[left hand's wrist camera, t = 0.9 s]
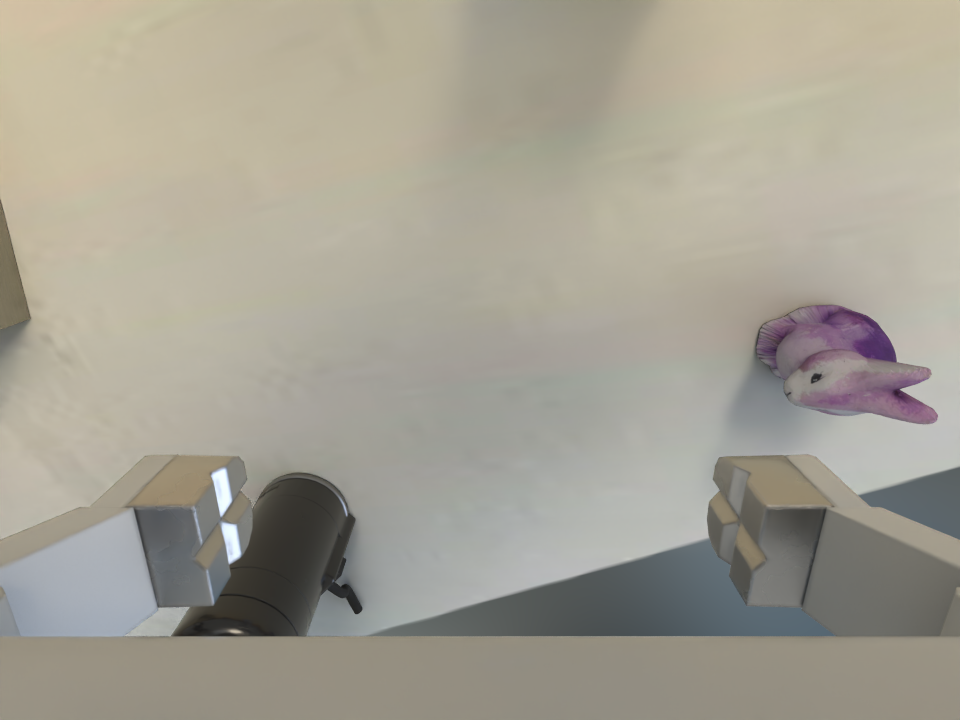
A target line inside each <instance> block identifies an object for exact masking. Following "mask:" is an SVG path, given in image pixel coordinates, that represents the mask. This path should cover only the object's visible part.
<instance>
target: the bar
mask: <svg viewBox="0 0 960 720" xmlns="http://www.w3.org/2000/svg"><path fill="white" fill-rule="evenodd" d="M29 319H30V315H29V311H28V307H27V303H26V299H25V295H24V291H23V287H22V283H21V280H20V276H19V272H18V268H17V264H16V260H15V256H14V252H13V248H12V244H11V240H10V236H9V233H8V229H7V225H6V221H5V217H4V213H3V209H2V205H1V201H0V330H1V329H4V328H7V327H9V326H12V325H15V324H18V323H20V322H23V321H26V320H29Z"/></svg>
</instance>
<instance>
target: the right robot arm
mask: <svg viewBox="0 0 960 720" xmlns="http://www.w3.org/2000/svg"><path fill="white" fill-rule="evenodd" d="M252 513H253V527H252V532H251V536H250V541H249V545H248V547H247V549H246V550H245V552H244V554H243V556H242V557H241V558H240V559H238V560H236V561H235V562H233V563H232V564H230V565H229V567H230V573H231V577H230V578H229V580H228V582H227V584H226V585H225V587H224V589H223V590H222V592H221V594H220V596H219V597H218V599H217V601H216V602H215V604H214V606H194V607H189V609H188V611H187V612H186V614H185V616H184V617H183V619H182V620H181V622H180V623H179V625H178V626H177V628H176V629H175V631H174V632H173V633H172V635H171V636H306V635H307V632H308V629H309V626H310V624H311V621H312V618H313V615H314V613H315V610H316V607H317V604H318V602H319V599H320V596H321V595H322V594H323V593H324V592H325V591H326V590H329V591H330V592H332V593H333V594H335V595H336V596H338V597H340V598H347V600H348V602H349V604H350V606H351V608H352V609H353V611H354V613H355V614H359V613H360V612H361V611H362V607H361V605H360V603H359V601H358V599H357V597H356V595H355V594H354V592H353V590H352V589H351V587H350V586H349V585H347V584H344V585H342V586H341V587H340V586H339V585H338V584H336V583H335V581H336V580H337V579H338V578H339V577H340V576H341V574H342V571H343V568H344V565H345V562H346V559H345V558H343V556H344V553H345V550H346V547H347V544H348V541H349V538H350V535H351V532H352V529H353V526H354V523H355V518H354V517H353V516H351V515H350V514H349V513H348V507H347V504H346V501H345V499H344V498H343V496H342V494H341V493H340V492H339V491H338V490H337V489H336V488H335V487H334V486H333V485H332V484H330V483H329V482H328V481H326V480H324V479H322V478H320V477H317V476H314V475H310V474H303V473H295V474H288V475H284V476H281V477H279V478H277V479H275V480H273V481H272V482H271V483H269V484H268V485H267V486H266V488H265V489H264V490H263V492H262V493H261V495H260V497H259V499H258V501H257V502H256V504H255V506H254V508H253V509H252Z"/></svg>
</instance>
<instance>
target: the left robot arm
mask: <svg viewBox="0 0 960 720" xmlns="http://www.w3.org/2000/svg"><path fill="white" fill-rule="evenodd" d="M246 480H247V476H246V471H245V466H244V462H243V461H242V460H241V459H240V457H239V456H199V455H181V456H180V455H151V456H145V457H144V458H143V459H141V460H140V461H139V462H138V463H137V464H136V465H135V466H134V467H133V468H132V469H131V470H130V471H128V472H127V473H126V474H125V475H124V476H123V477H122V478H121V479H120V480H119V481H118V482H116V483H115V484H114V485H113V486H112V487H111V488H110V489H109V490H108V491H107V492H106V493H104V494H103V495H102V496H101V497H100V498H99V499H98V500H97V501H96V502H95V503H94V504H92V505H91V506H90V507H79V508H77V509H74V510H72V511H69V512H67V513H65V514H62V515H60V516H57V517H55V518H52V519H50V520H48V521H45V522H43V523H40V524H38V525H36V526H33V527H31V528H28V529H26V530H23V531H21V532H19V533H16V534H14V535H11V536H9V537H6V538H4V539H2V540H0V720H960V540H958V539H956V538H953V537H951V536H948V535H946V534H944V533H941V532H939V531H936V530H934V529H932V528H929V527H927V526H924V525H922V524H919V523H917V522H915V521H912V520H910V519H907V518H905V517H903V516H900V515H898V514H895V513H893V512H890V511H888V510H886V509H883V508H881V507H870V506H869V505H867V503H865V502H864V501H863V500H862V499H861V498H860V497H859V496H858V495H857V494H856V493H855V492H853V491H852V490H851V489H850V488H849V487H848V486H847V485H846V484H845V483H844V482H843V481H842V480H840V479H839V478H838V477H837V476H836V475H835V474H834V473H833V472H832V471H831V470H830V469H828V468H827V467H826V466H825V465H824V464H823V463H822V462H821V461H820V460H819V459H818V458H817V457H815V456H811V455H808V454H806V455H770V456H729V457H720V458H719V459H718V461H717V463H716V465H715V469H714V475H713V480H714V482H715V484H716V485H717V487H718V488H719V490H720V491H719V492H718V493H717V494H716V495H715V496H714V497H713V498H712V499H711V500H710V501H709V507H708V515H707V524H708V534H709V538H710V541H711V544H712V547H713V549H714V550H715V552H716V554H717V556H718V557H719V558H720V559H722V560H724V561H725V562H727V563H728V564H730V565H731V567H730V573H729V577H730V578H731V580H732V582H733V583H734V585H735V587H736V589H737V590H738V592H739V594H740V595H741V597H742V599H743V601H744V602H745V604H746V606H764V607H801V608H802V611H804V612H805V613H806V614H808V615H809V616H810V617H812V618H813V619H814V620H816V621H817V622H818V623H820V624H821V625H822V626H824V627H825V628H826V629H828V630H829V631H830V632H831V633H833V634H834V635H836V636H125V635H126V634H127V633H129V632H130V631H131V630H133V629H134V628H135V627H137V626H138V625H139V624H141V623H142V622H143V621H145V620H146V619H147V618H149V617H150V616H151V615H153V614H154V613H155V612H157V611H158V608H159V607H194V606H214V604H215V602H216V601H217V599H218V597H219V596H220V594H221V592H222V590H223V589H224V587H225V585H226V584H227V582H228V580H229V578H230V577H231V573H230V567H229V565H230V564H232V563H233V562H235V561H236V560H238V559H240V558H241V557H242V556H243V554H244V552H245V550H246V549H247V547H248V545H249V541H250V536H251V532H252V527H253V513H252V506H251V501H250V500H249V499H248V498H247V497H246V496H245V495H244V494H243V493H242V492H241V491H240V490H241V488H242V487H243V485H244V484H245V482H246Z"/></svg>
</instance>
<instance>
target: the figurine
mask: <svg viewBox="0 0 960 720" xmlns="http://www.w3.org/2000/svg"><path fill="white" fill-rule="evenodd" d="M758 338H759V339H758V342H757V348H756V349H757V351H756V352H757V356H758V358H759V359H760V360H761V361H762V362H764V363H766V364H768V365H770V369H771V371H772V372H773V373H774V374H775V375H776V376H778V377H781V378H783V379H784V380H785V382H784V393H785V395H786V396H787V398H788V400H789V401H790V402H791V403H793V404H794V405H796V406H800V407H805V408H809V409H813V410H817V411H820V412H823V413H826V414H832V415H840V416H852V415H858V414H863V413H873V414H877V415H882V416H885V417H889V418H892V419H897V420H901V421H906V422H911V423H917V424H932V423H934V422H936V420H937V419H938V415H937V413H936V412H935V411H934V409H932V408H931V407H929V406H927V405H925V404H923V403H922V402H920V401H918V400H917V399H915V398H913V397H911V396H910V395H908V394H906V393H904V392H903V391H901V390H900V389H901V388H905V387H908V386H912V385H915V384H918V383H920V382H922V381H924V380H926V379H929V377H930V376H931V375H932V374H931V370H930V369H928V368H926V367H920V366H914V365H908V364H903V363H897V362H896V354H895V351H894V348H893V346H892V344H891V342H890V340H889V338H888V337H887V335H886V334H885V333H884V331H883V330H882V329H881V328H880V326H879V325H878V324H877V323H876V322H875V321H874V320H872V319H871V318H870V317H868V316H866V315H863V314H861V313H857V312H854V311H852V310H849V309H847V308H845V307H842V306H836V305H820V306H809V307H803V308H798V309H797V310H795V311H793V312H791V313H789V314H788V315H786V316H785V317H782V318H779V319H775V320H772V321H769V322H767V323H765V324H764V325H763V326H762V328H761V329H760V334H759V337H758Z"/></svg>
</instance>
